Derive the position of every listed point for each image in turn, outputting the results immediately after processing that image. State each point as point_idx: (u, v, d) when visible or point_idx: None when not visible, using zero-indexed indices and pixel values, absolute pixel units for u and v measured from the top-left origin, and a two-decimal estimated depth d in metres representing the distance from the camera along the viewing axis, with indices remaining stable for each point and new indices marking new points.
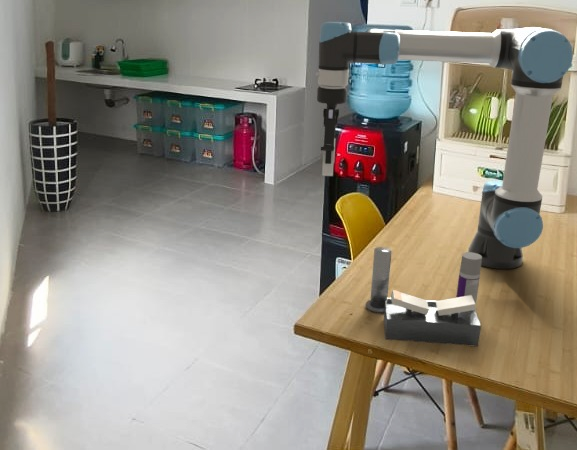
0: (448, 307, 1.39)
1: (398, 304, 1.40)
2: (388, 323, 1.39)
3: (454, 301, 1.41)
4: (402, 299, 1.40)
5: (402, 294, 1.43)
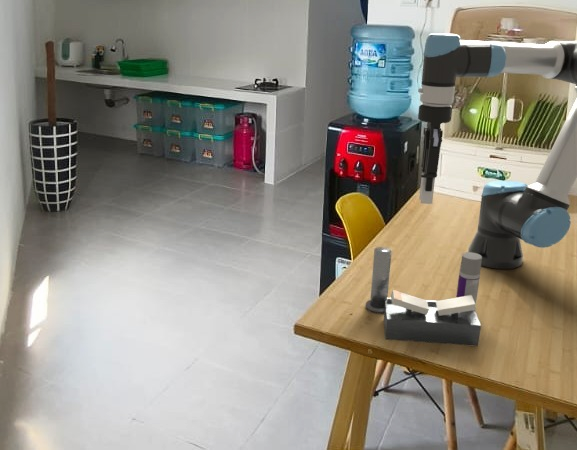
0: (448, 307, 1.39)
1: (398, 304, 1.40)
2: (388, 323, 1.39)
3: (454, 301, 1.41)
4: (402, 299, 1.40)
5: (402, 294, 1.43)
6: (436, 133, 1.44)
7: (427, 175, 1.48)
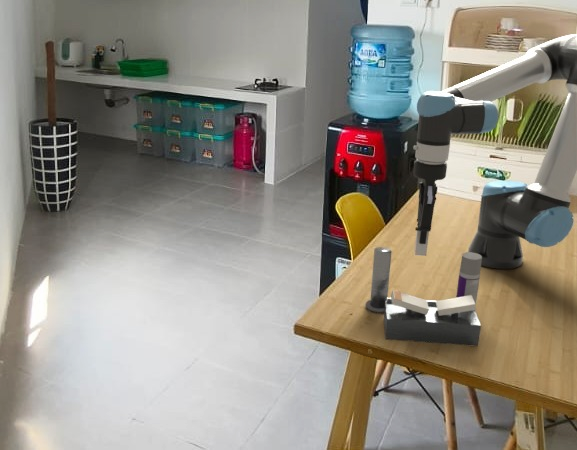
0: (448, 307, 1.39)
1: (398, 304, 1.40)
2: (388, 323, 1.39)
3: (454, 301, 1.41)
4: (402, 299, 1.40)
5: (402, 294, 1.43)
6: (430, 191, 1.46)
7: (421, 229, 1.51)
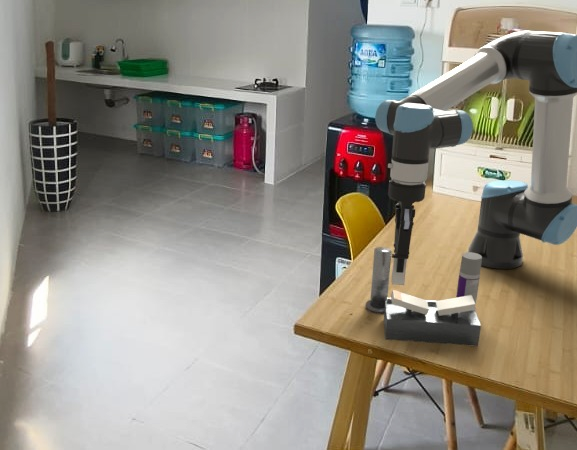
0: (448, 307, 1.39)
1: (398, 304, 1.40)
2: (388, 323, 1.39)
3: (454, 301, 1.41)
4: (402, 299, 1.40)
5: (402, 294, 1.43)
6: (407, 214, 1.30)
7: (398, 257, 1.34)
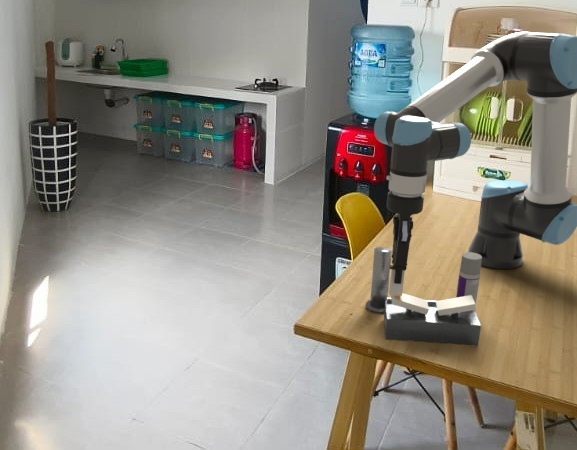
0: (448, 307, 1.39)
1: (398, 304, 1.40)
2: (388, 323, 1.39)
3: (454, 301, 1.41)
4: (402, 299, 1.40)
5: (402, 294, 1.43)
6: (405, 226, 1.31)
7: (395, 268, 1.35)
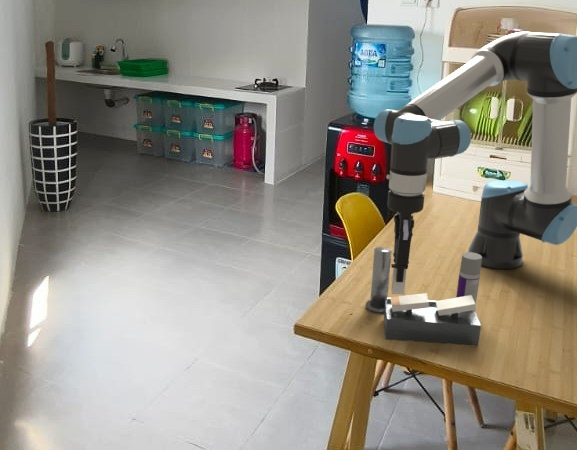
0: (448, 307, 1.39)
1: (398, 309, 1.40)
2: (388, 323, 1.39)
3: (454, 301, 1.41)
4: (400, 303, 1.40)
5: (400, 297, 1.43)
6: (406, 225, 1.31)
7: (397, 267, 1.35)
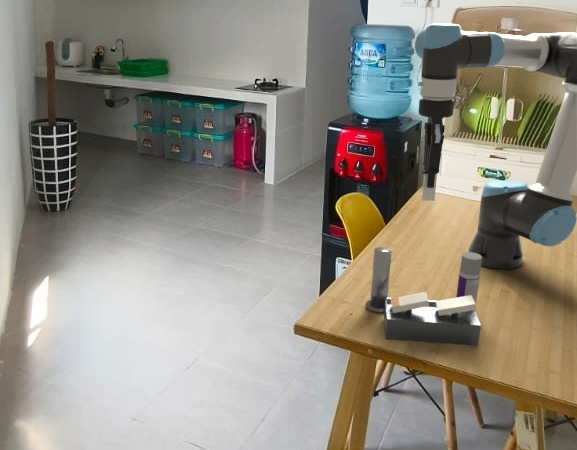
0: (448, 307, 1.39)
1: (398, 310, 1.40)
2: (388, 323, 1.39)
3: (454, 301, 1.41)
4: (400, 304, 1.40)
5: (400, 298, 1.43)
6: (438, 129, 1.38)
7: (429, 171, 1.42)
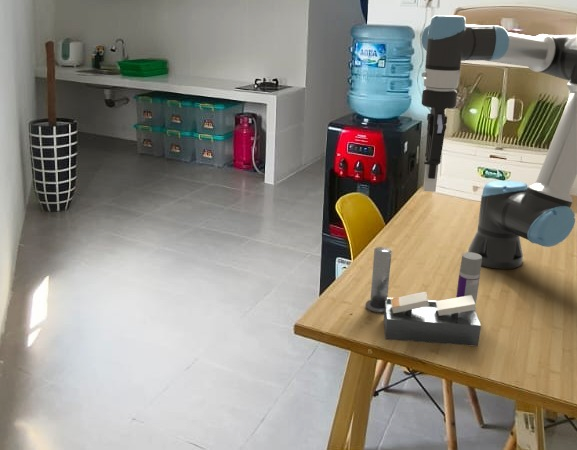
0: (448, 307, 1.39)
1: (398, 310, 1.40)
2: (388, 323, 1.39)
3: (454, 301, 1.41)
4: (400, 304, 1.40)
5: (400, 298, 1.43)
6: (440, 119, 1.39)
7: (430, 162, 1.43)
